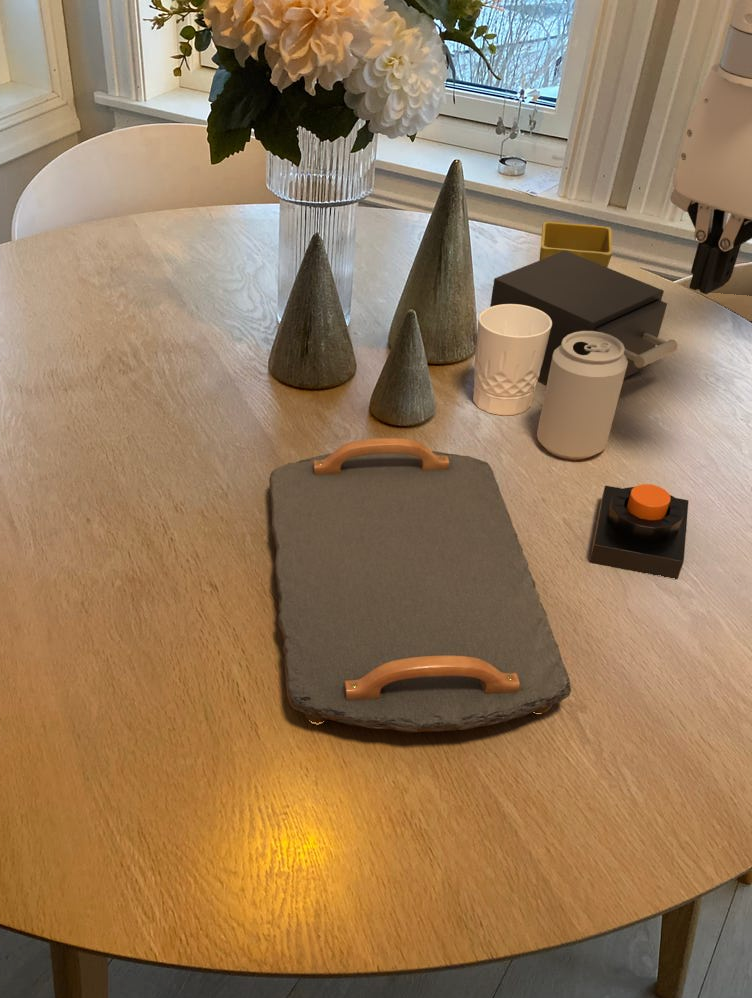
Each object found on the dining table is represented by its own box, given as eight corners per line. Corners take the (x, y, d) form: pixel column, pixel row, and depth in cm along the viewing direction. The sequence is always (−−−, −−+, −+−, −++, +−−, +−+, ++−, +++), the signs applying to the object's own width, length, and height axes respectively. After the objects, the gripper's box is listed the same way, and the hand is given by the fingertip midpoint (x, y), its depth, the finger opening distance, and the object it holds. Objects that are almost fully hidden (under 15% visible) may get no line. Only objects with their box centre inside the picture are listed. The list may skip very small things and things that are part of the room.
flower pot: (597, 292, 135) (612, 225, 129) (597, 321, 129) (613, 253, 123) (531, 286, 137) (543, 220, 130) (528, 315, 131) (540, 247, 124)
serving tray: (580, 744, 78) (597, 690, 74) (287, 758, 77) (286, 704, 73) (481, 465, 106) (489, 414, 101) (264, 474, 105) (263, 423, 101)
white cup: (536, 421, 112) (553, 339, 105) (466, 416, 113) (477, 334, 106) (535, 386, 117) (551, 306, 110) (468, 381, 118) (479, 301, 112)
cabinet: (643, 366, 120) (664, 290, 114) (575, 400, 115) (593, 322, 108) (550, 323, 129) (564, 250, 122) (483, 353, 123) (494, 278, 117)
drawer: (680, 378, 117) (699, 316, 111) (618, 411, 112) (635, 347, 106) (562, 324, 127) (575, 264, 121) (501, 351, 122) (511, 290, 116)
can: (535, 423, 112) (555, 323, 103) (604, 429, 110) (630, 329, 102) (534, 460, 106) (555, 357, 98) (606, 467, 105) (634, 364, 97)
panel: (600, 503, 101) (609, 470, 98) (682, 518, 99) (693, 484, 96) (589, 562, 94) (598, 529, 91) (677, 580, 92) (689, 546, 89)
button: (628, 496, 96) (632, 481, 94) (667, 503, 95) (672, 487, 93) (624, 517, 93) (629, 502, 92) (664, 524, 92) (669, 509, 91)
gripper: (897, 64, 72) (808, 303, 85) (717, 26, 81) (662, 248, 94) (841, 86, 69) (758, 330, 82) (661, 44, 78) (611, 272, 91)
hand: (707, 286), depth 88 cm, fingers closed
